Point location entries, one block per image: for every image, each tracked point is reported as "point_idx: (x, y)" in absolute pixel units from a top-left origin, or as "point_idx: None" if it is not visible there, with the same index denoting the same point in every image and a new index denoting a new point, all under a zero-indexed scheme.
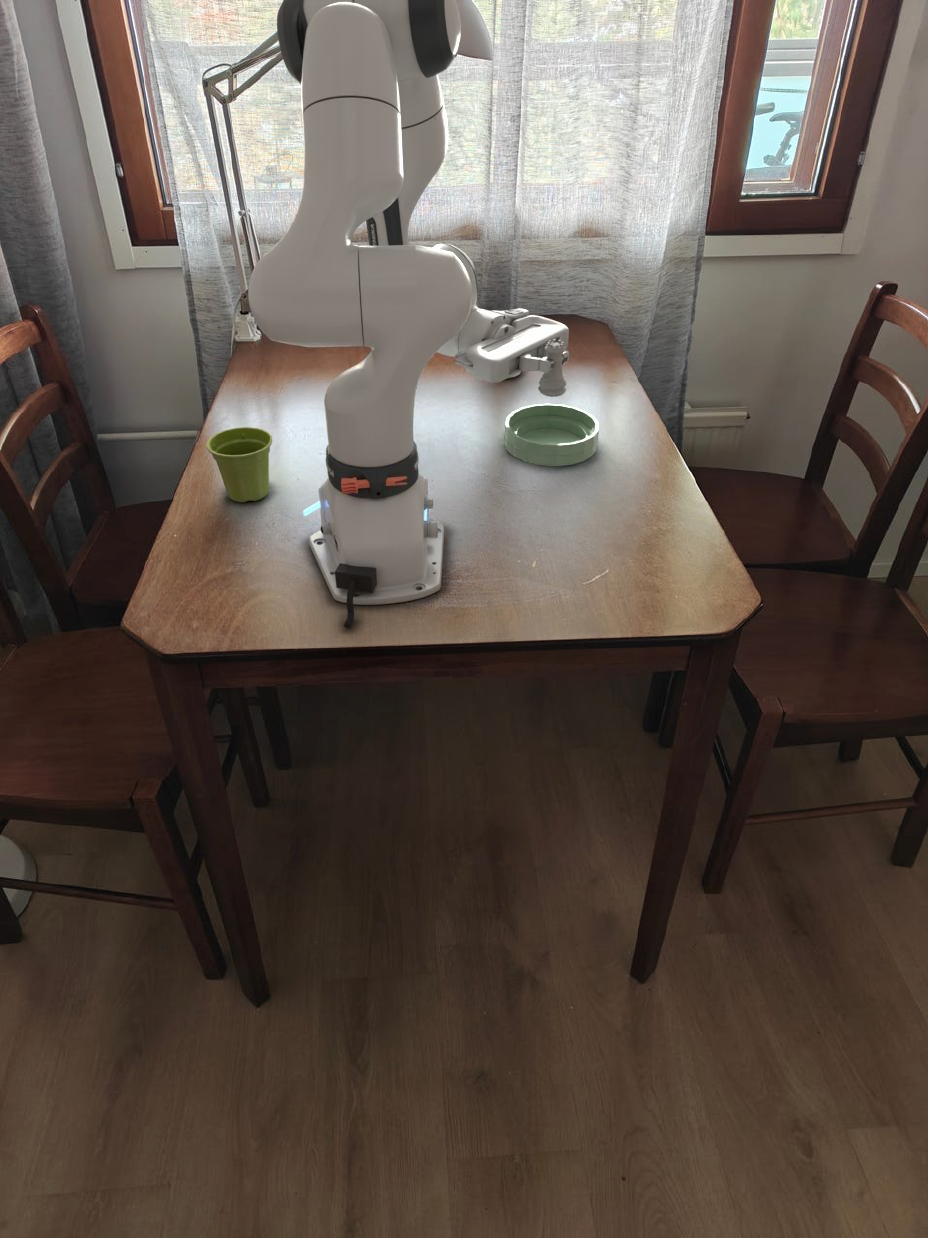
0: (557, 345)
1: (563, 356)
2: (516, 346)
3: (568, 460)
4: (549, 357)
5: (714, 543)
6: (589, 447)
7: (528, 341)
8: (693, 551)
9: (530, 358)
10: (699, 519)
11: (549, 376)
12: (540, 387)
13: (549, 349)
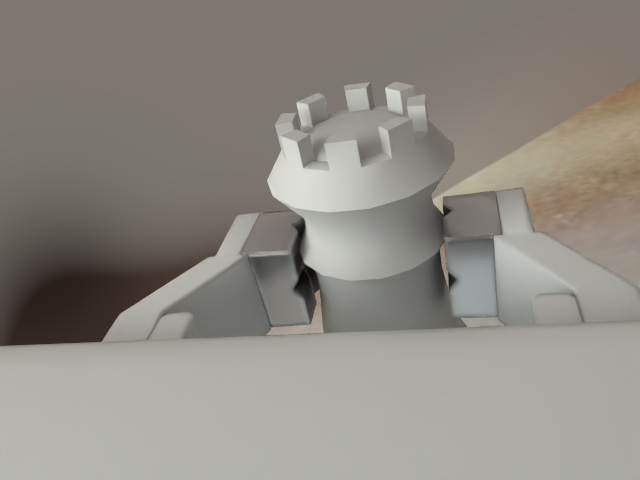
0: (402, 85)
1: None
2: (607, 416)
3: None
4: (434, 215)
5: (556, 133)
6: None
7: (303, 406)
8: (613, 135)
9: (602, 269)
10: (501, 168)
11: (457, 322)
12: None
13: (440, 143)
